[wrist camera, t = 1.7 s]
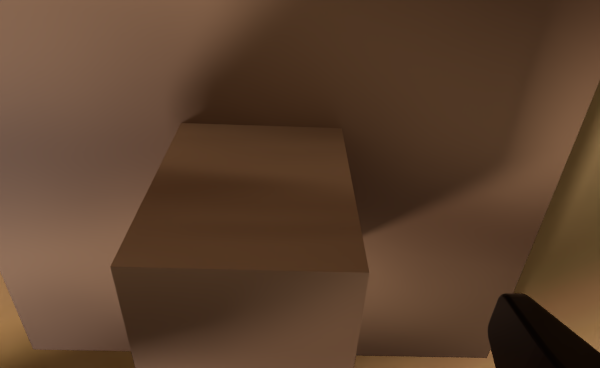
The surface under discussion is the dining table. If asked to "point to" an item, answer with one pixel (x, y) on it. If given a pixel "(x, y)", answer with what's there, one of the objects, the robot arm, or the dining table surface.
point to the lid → (281, 171)
